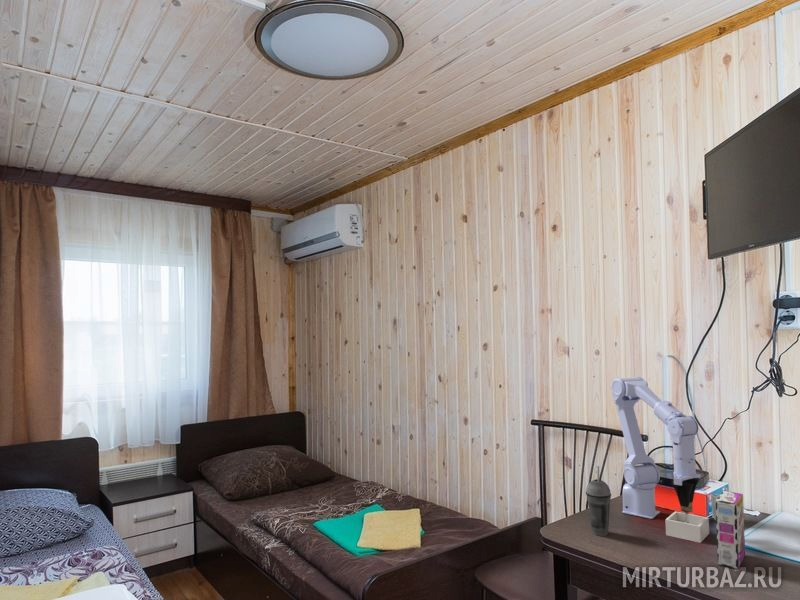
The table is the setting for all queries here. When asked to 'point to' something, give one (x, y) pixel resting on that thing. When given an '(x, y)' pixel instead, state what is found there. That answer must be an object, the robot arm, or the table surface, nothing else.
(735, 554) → the pink printed carton
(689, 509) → the plunger
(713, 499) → the skincare box
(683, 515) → the white framed panel box
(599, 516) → the beverage cup
